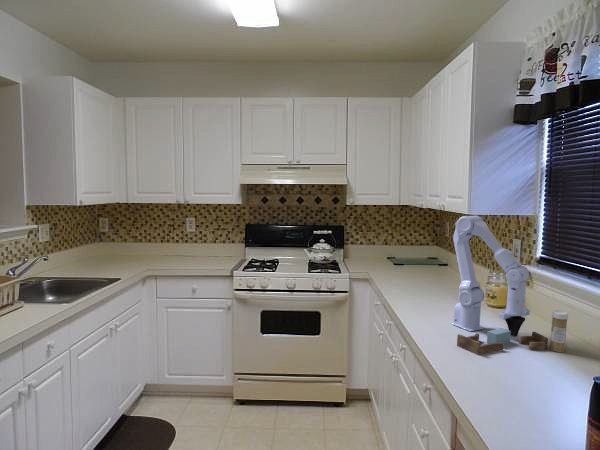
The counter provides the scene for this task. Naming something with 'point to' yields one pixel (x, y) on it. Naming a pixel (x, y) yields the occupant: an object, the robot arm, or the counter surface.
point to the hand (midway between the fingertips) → (513, 335)
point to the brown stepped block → (534, 341)
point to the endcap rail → (477, 344)
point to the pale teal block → (499, 336)
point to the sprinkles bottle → (558, 330)
